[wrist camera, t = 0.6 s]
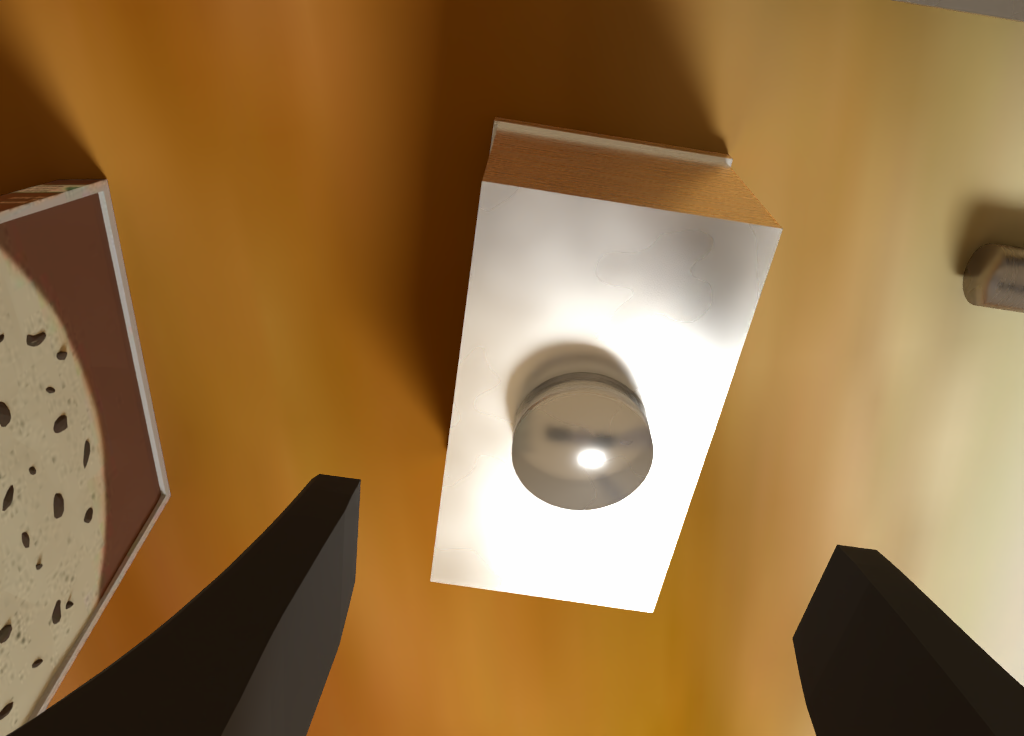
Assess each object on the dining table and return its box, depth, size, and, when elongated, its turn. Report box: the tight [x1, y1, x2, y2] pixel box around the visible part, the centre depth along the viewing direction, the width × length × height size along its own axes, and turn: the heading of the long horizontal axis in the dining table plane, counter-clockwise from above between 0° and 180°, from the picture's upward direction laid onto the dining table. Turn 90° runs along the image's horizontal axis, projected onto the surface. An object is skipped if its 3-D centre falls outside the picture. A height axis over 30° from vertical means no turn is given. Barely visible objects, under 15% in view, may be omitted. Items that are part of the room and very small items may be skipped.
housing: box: [430, 117, 782, 612], centre depth 16 cm, size 5×9×6 cm, turn 172°
